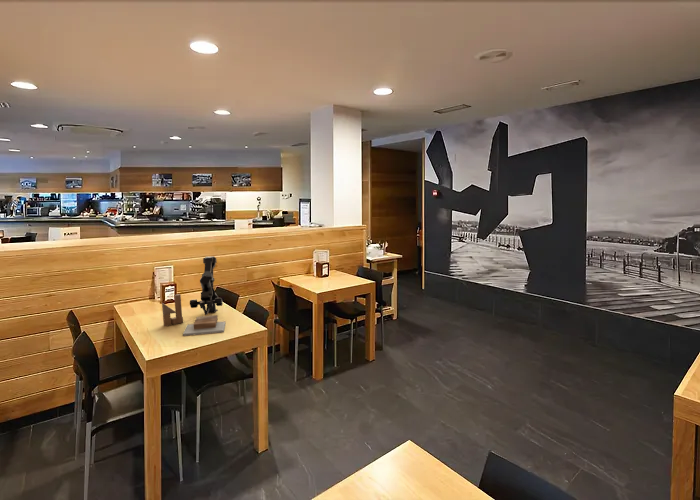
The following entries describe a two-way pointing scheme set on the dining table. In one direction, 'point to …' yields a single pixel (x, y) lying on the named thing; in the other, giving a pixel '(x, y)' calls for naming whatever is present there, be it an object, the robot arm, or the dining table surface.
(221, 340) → the dining table surface
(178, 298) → the wooden block
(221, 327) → the slate floor board
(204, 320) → the walnut plank
